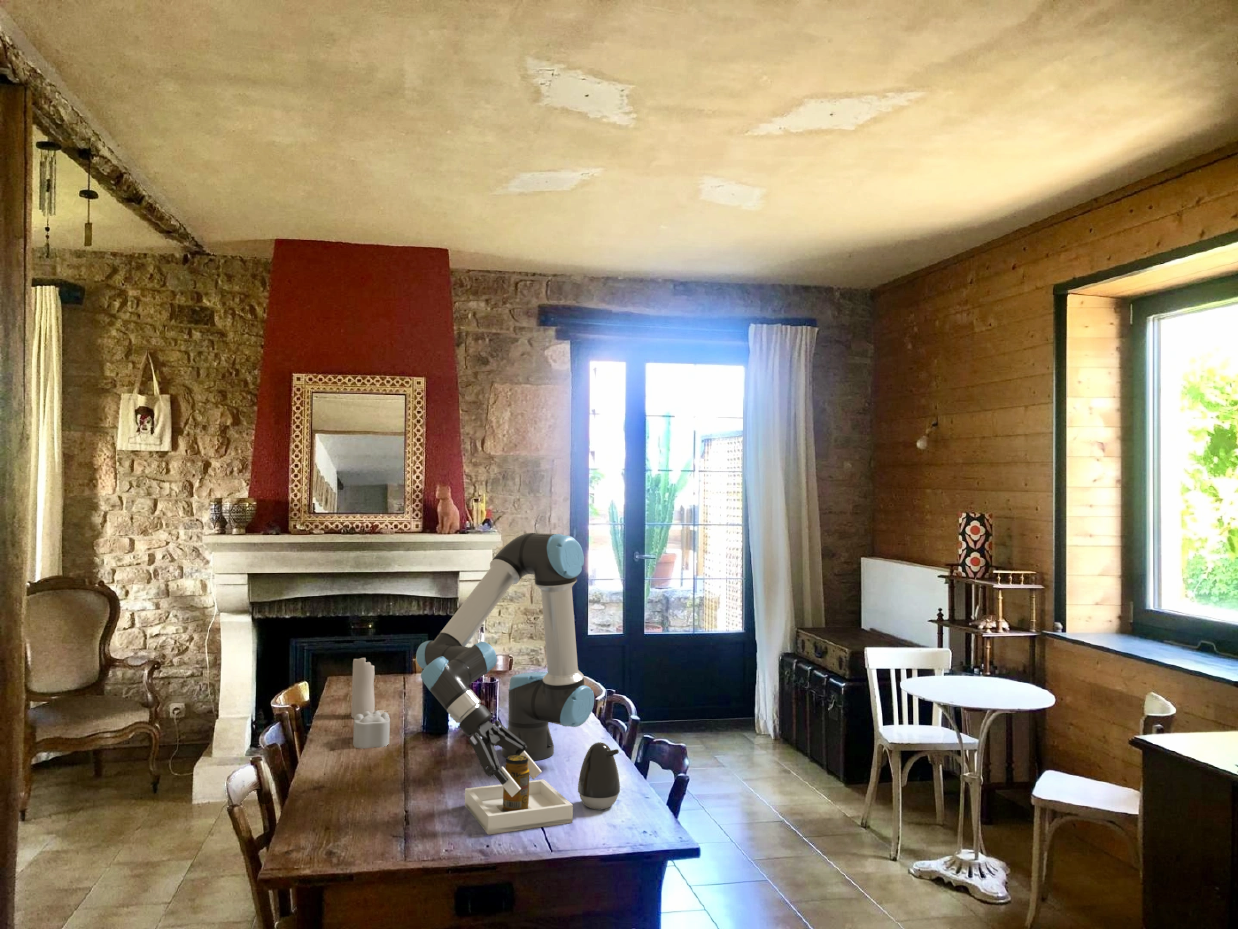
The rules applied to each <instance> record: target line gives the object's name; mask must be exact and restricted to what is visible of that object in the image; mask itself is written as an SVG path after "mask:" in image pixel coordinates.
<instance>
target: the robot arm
mask: <svg viewBox="0 0 1238 929" xmlns="http://www.w3.org/2000/svg"><path fill="white" fill-rule="evenodd" d="M584 556H585V555H584V551H583V548H582V546H581V544H580V543H579V541H577V540H576V538H574V537H573V536H571V535H565V534H561V533H536V532H527V533H524V534H520V535H518V536H517V537H515V538H514V539H512V540H511V541H510V542H508V543H506V544H505V546H503V548H501V549H500V550H499V551H498V552H497V553H496V555H494V557H493V558H492V560H491V561H490V563H489V569H488V571H487V572H486V573H485V574H484V576H483V577H482V578H481V580H480V581H479V582H478V583H477V585H476V586H475V587H474V589H473V590H472V591H471V593H469V595H468V596H467V597H466V599H465V600H464V601H463V603H462V604H461V605H460V606H459V608H458V609H457V610H456V612H455V613H454V614H453V615H452V617H451V619H449V621H448V622H447V623H446V625H445V626H444V627H443V629H442V630H440V632H439V633H438V634H437V636H436V637H435V638H434V640H426V641H424V642H422V643H421V644H420V645H419V646H418V648H417V650H416V654H415V656H416V659H415V660H416V662H417V665H418V667H420V668H421V669H423V670H422V671H421V673H420V678H421V681H422V682H423V683H424V685H425V686H426V688H427V689H428V691H430V692H431V694H432V695H433V696H434V697H435V699H436V700H437V701H438V702H439V703H440V705H441V706H442V707H443V708H444V710H445V711H446V712H447V713H448V714H449V717H450V718H452V719H453V720H454V721H455V722H456V723H457V724H458V723H459V728H460V730H462V732H463V733H464V734H465V735H466V736H467V737H469V738H468V740H467V741H468V743H469V745H470V746H471V747H472V748H473V752H475V755H476V757H477V760H478V762H479V763H480V765H481V768H482V771H483V772H484V774H485V775H487V776H488V777H489V778H491V777H492V776H494V778H495V779H496V780H497V781H498V782H499V783H500V784H501V785H502V786H503V787H504V788H505V789H506V791H507V792H508V793H509V794H510V796H511V797H513V796H514V795H515V794H516V793H517V792H518V791H519V790H520V789H521V788H520V787H519V785H518V784H517V783H516V782H515V781H514V779H513V778H512V777H511V776H510V774H509V773H508V772H507V771H506V769H505V768H506V767H504V766H501V765H500V761H499V758H498V756H497V751H496V749H495V746H496V747H498V746H499V747H500V748H501V755H502V757H504V758H505V759H506V758H507V757H509V756H512V755H522V756H526V757H527V758H528V769H529V777H530V778H532V780H535V779H536V778H537V777H538V776H539V775H540V774H541V773H542V772H543V771H542V770H541V769H540V767H539V766H538V765H537V764H536V762H535V761H539V760H545V759H548V758H550V757H552V756H553V755H554V753H555V752H554V751H555V745H554V742H553V737H552V734H551V731H550V727H549V724H550V723H552V724H554V725H560V726H562V727H565V728H566V727H571V728H579V727H581V726H582V725H583V724H585V723H586V721H588V720H589V718H590V715H591V714H592V712H593V708H594V706H595V705H594V704H595V694H594V691H593V689H591V688H592V687H590V686H588V685H587V684H585V676H584V675H585V674H583V673H582V672H581V671H580V670H579V666H578V665H579V664H578V653H577V651H578V650H577V641H576V638H577V637H576V625H575V624H576V623H575V613H574V601H573V600H574V598H573V586H574V585H575V583H577V582H578V579H577V577H578V576H579V575H580V574H581V573H582V570H583V569H582V567H584V563H585V557H584ZM527 575H534V576H533V577H534V584H535V586H536V587H538V589H540V593H541V606H542V607H541V608H542V615H543V616H542V617H543V630H544V631H543V632H544V642H545V644H544V645H545V656H546V667H547V668H546V670H547V671H533V672H531V671H530V672H522V673H517V674H515V675H513V676H511V678H510V679H509V688H508V722H507V723H508V724H507V728H506V727H505V726H504V725H503V724H502V722H500V721H499V719H497V720H496V721H494V722H493V723H492V722H491V719H492V717H493V716H492V715H493V714H492V713H491V712H490V710H489V709H488V708H487V706H485V704H481V703H482V701H481V699H480V698H479V697H478V696H477V695H476V693H475V692H474V691H473V690H472V689H471V688H470V685H472V683H474V682H476V681H477V680H479V679H480V678H481V677H483V676H485V675H486V674H487V675H488V673H489V672H490V671H491V670H492V669H493V668H495V667H496V665H497V662H498V658H497V652H496V650H495V649H494V647H493V646H492V645H491V644H490V643H488V642H486V641H480V642H477V643H475V644H473V645H472V646H471V647H470V646H469V647H468V646H467V644H468V643H469V642H470V641H471V640H472V638H473V636H475V634H476V633H477V631H478V630H479V629H480V627H481V626H482V625H483V624H484V622H485V621H486V620H487V619H488V617H489V616H490V615H491V613H492V612H493V610H494V609H495V608H496V606H497V605H498V603H499V602H500V601H501V600H502V598H503V597H504V596H505V594H506V593H507V592H508V590H509V589H510V588H511V586H512V585H517V584H518V583H519V581H521V579H522V578H523V577H524V576H527ZM551 755H552V756H551Z"/></svg>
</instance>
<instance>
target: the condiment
mask: <svg viewBox="0 0 1238 929" xmlns="http://www.w3.org/2000/svg"><path fill="white" fill-rule="evenodd" d="M504 768H505V769H506V771H507V772H508V773H509V774H510V776H511V777H512V778H513V779H514V781H515V782H516V783H517V784H518V785H519V787H520V788H521V789H520V790H519V791H518V792H517V793H516V794H515V795H514V796H513V797H511V796H510V794H509V793H508V792H507V791H506V789H505V788H504V787H503V805H497V808H498V809H499V810H500V811H501V812H509V811H517V810H525V809H532V808H530V807H529V806H528V803H529V781H530V779H531V777H530V775H529V769H528V758H527V757H526V756H522V755H512V756H509V757H507V758H506V757H505V767H504Z"/></svg>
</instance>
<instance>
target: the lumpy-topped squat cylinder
mask: <svg viewBox="0 0 1238 929" xmlns="http://www.w3.org/2000/svg"><path fill="white" fill-rule="evenodd" d="M390 725H391V718H390V715H389V713H388V712H385V713H382V714H380V712H379V711H377V710H375V711H374V712H373V713H370V712H369V711H366V712H364V713H363V714H357V715H356V716H355V718H353V734H352V736H353V738H352V739H353V741H352V745H353V746H354V747H355V748H356V749H372V748H373V749H374V747H376V748H384V746H385V747H387V745H388V744H389V745H390V735H391V734H390V728H391V726H390ZM389 745H388V746H389Z"/></svg>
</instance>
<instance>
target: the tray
mask: <svg viewBox="0 0 1238 929" xmlns="http://www.w3.org/2000/svg"><path fill="white" fill-rule="evenodd" d="M464 791H465V792H464V806H465V808H466V809H467V810H468V811H469V813H470V814H471V815H472V816H473V818H474V819H475V820H476V821H477V822H478V824H479V825H480V827H481V828H482V829H483V830H484V831H485V833H486V834H487V835H488V836H490V835H496V834H503V833H509V832H517V831H522V830H528V829H537V828H543V827H552V826H557V825H566V824H573V820H574V819H573V818H574V817H573V816H574V815H573V814H574V805H573V804H572V803H571V802H570V801H569V800H567V798H566V797H565V796H563V795H562V794H561V793H560V792H559V791H558V790H557V789H556V788H555V787H553V785H552V784H550V783H549V782H548V781H546V780H545V779H537V780H535V779H533V780H529V803H528V806H529V807H530V808H532V809H525V810H517V811H509V812H501V811H500V810H499V809H498V808H497V805H503V786H502V785H501V783H500V784H492V785H483V786H477V787H476V786H475V787H469V788H465V790H464Z"/></svg>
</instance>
